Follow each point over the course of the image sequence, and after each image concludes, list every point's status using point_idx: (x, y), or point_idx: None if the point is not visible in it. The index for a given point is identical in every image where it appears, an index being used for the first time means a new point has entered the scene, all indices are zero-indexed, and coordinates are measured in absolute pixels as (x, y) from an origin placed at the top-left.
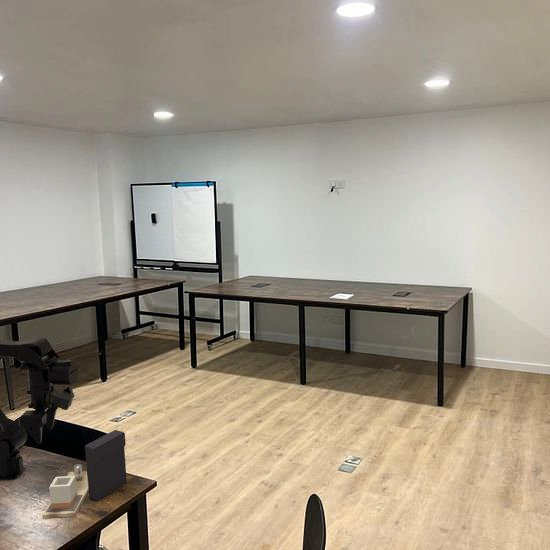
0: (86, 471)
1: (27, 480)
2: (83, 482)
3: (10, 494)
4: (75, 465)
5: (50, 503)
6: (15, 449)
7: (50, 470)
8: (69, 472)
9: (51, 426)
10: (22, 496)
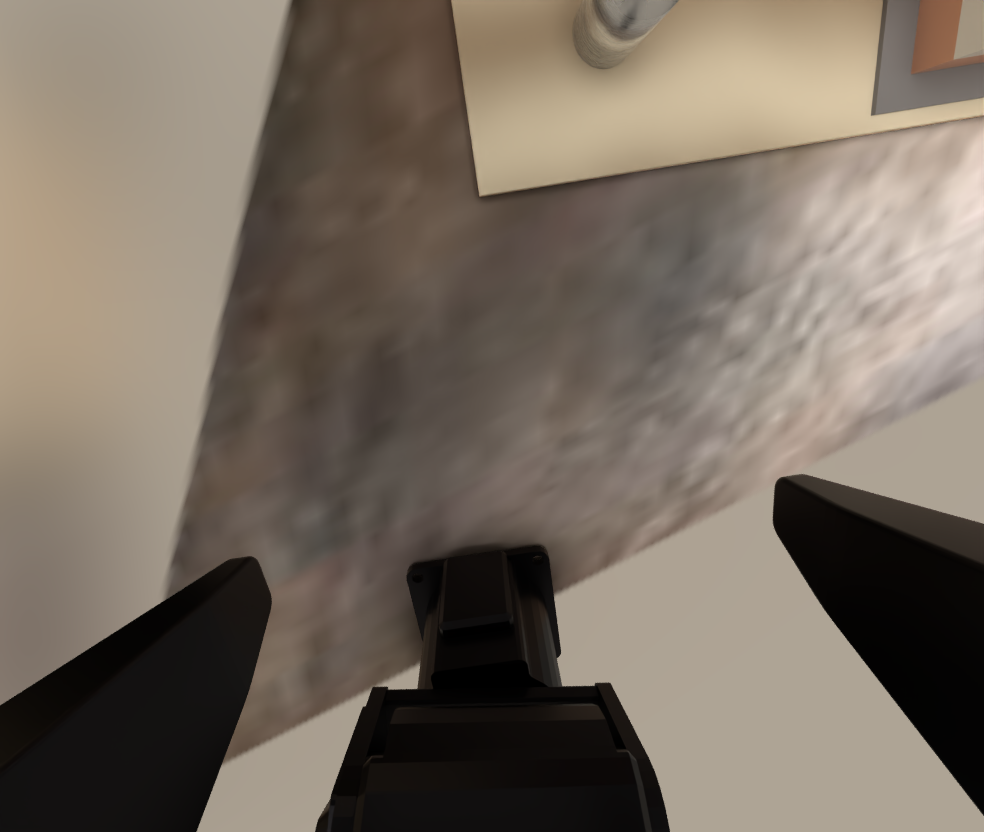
0: (460, 16)
1: (555, 470)
2: None
3: (717, 482)
4: (630, 6)
5: (963, 109)
6: (577, 708)
7: (418, 387)
8: (486, 189)
9: (236, 598)
10: (751, 399)
